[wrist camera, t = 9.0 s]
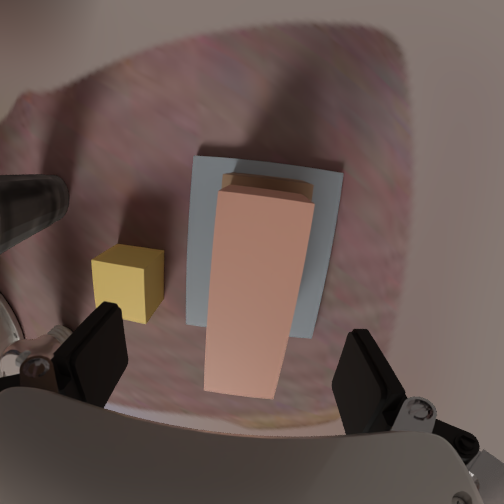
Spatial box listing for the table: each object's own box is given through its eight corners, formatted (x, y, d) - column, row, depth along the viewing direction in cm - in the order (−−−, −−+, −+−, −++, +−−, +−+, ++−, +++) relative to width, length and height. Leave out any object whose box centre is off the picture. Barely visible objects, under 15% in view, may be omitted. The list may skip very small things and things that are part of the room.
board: (188, 319, 25) (186, 324, 24) (196, 155, 20) (193, 155, 20) (310, 333, 24) (311, 338, 24) (340, 173, 20) (343, 173, 19)
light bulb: (89, 366, 28) (40, 435, 16) (46, 335, 27) (-10, 391, 15) (98, 327, 26) (36, 402, 14) (50, 293, 25) (-21, 350, 13)
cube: (119, 289, 24) (96, 312, 20) (117, 243, 23) (91, 259, 19) (164, 298, 24) (146, 324, 20) (164, 250, 23) (143, 269, 19)
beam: (229, 184, 15) (218, 190, 11) (302, 194, 15) (314, 203, 11) (214, 350, 19) (203, 390, 15) (272, 358, 18) (273, 399, 15)
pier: (227, 226, 21) (216, 244, 16) (232, 172, 20) (222, 174, 15) (294, 233, 21) (303, 254, 16) (302, 180, 20) (313, 185, 15)
